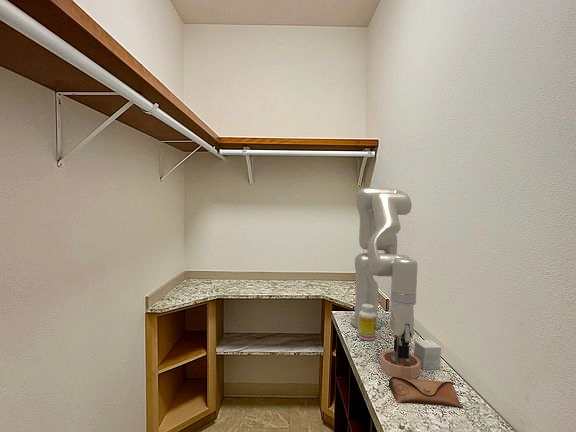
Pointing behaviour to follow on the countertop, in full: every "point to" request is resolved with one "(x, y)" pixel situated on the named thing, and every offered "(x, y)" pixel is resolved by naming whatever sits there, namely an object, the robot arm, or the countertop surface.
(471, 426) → the countertop surface
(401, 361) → the wooden plank
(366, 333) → the supplement bottle
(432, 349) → the product box
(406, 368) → the terracotta shallow dish
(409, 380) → the sunglasses case
